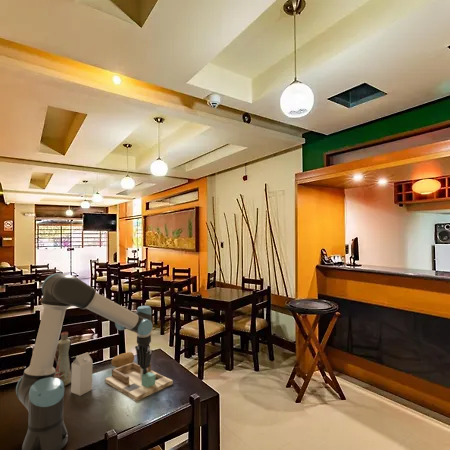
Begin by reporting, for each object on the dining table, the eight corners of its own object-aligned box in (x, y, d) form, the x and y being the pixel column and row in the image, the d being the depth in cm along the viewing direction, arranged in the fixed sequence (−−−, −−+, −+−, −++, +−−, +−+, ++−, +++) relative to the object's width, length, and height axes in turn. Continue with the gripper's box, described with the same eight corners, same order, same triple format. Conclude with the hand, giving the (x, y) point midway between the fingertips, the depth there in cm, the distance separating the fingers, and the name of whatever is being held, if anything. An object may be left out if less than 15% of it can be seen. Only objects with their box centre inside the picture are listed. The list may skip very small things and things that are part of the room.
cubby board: (136, 401, 148) (136, 389, 148) (105, 382, 167) (105, 372, 168) (172, 383, 166) (172, 373, 166) (140, 368, 185) (140, 359, 185)
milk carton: (70, 392, 156) (71, 355, 157) (83, 386, 162) (83, 350, 163) (80, 396, 153) (80, 357, 154) (92, 389, 159) (92, 353, 160)
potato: (108, 367, 186) (108, 354, 186) (130, 361, 195) (130, 349, 195) (114, 373, 179) (114, 359, 179) (137, 366, 188) (137, 353, 188)
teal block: (147, 387, 157) (147, 377, 158) (141, 384, 161) (141, 375, 161) (155, 384, 161) (155, 374, 161) (149, 381, 164) (149, 372, 165)
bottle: (71, 386, 163) (72, 333, 164) (51, 389, 160) (53, 335, 161) (72, 379, 171) (73, 328, 172) (54, 381, 168) (55, 330, 169)
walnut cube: (146, 372, 175) (146, 365, 175) (141, 371, 176) (141, 364, 177) (150, 370, 178) (151, 363, 179) (145, 368, 180) (145, 362, 180)
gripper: (157, 336, 163) (156, 380, 162) (142, 331, 171) (142, 373, 170) (145, 339, 157) (144, 385, 156) (131, 334, 166) (130, 378, 165)
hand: (143, 379), depth 163 cm, fingers closed
